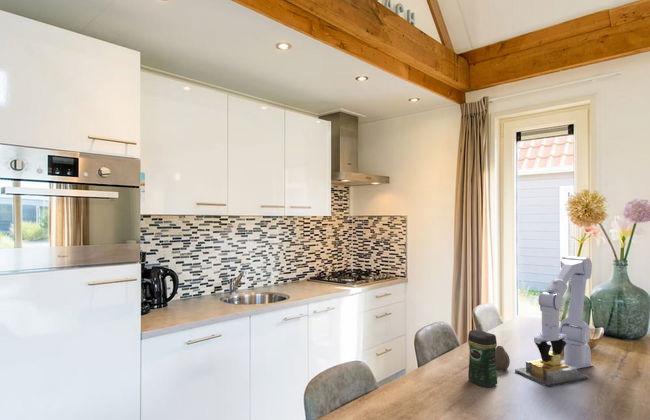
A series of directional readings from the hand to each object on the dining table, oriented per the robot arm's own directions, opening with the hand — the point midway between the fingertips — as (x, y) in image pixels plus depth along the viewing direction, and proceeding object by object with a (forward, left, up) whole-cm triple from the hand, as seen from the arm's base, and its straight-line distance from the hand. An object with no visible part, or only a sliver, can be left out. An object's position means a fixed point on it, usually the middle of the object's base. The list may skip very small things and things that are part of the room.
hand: (550, 360), depth 152 cm
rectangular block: (0, 0, -5) cm, 5 cm away
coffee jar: (+29, -4, -6) cm, 30 cm away
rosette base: (0, 0, -6) cm, 6 cm away
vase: (+13, -12, -6) cm, 19 cm away
